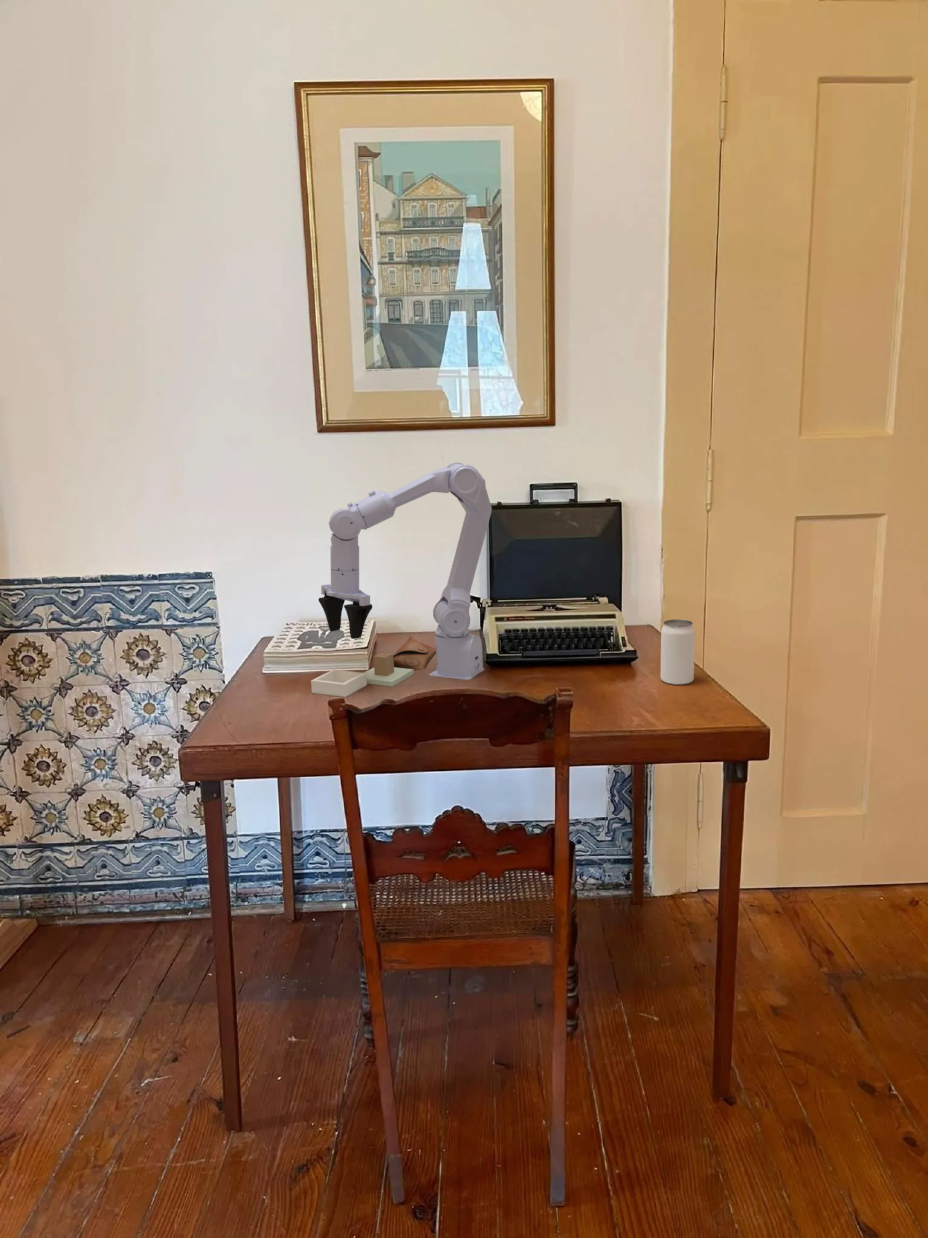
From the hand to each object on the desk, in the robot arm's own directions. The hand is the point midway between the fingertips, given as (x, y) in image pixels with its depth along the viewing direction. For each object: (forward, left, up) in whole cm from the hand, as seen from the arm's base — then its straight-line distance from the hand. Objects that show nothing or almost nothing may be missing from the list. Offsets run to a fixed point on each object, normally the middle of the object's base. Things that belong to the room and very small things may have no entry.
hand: (345, 634), depth 179 cm
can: (-63, -24, -11) cm, 68 cm away
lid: (-6, -5, -10) cm, 13 cm away
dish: (-1, +4, -11) cm, 12 cm away
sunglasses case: (-5, -20, -11) cm, 23 cm away
